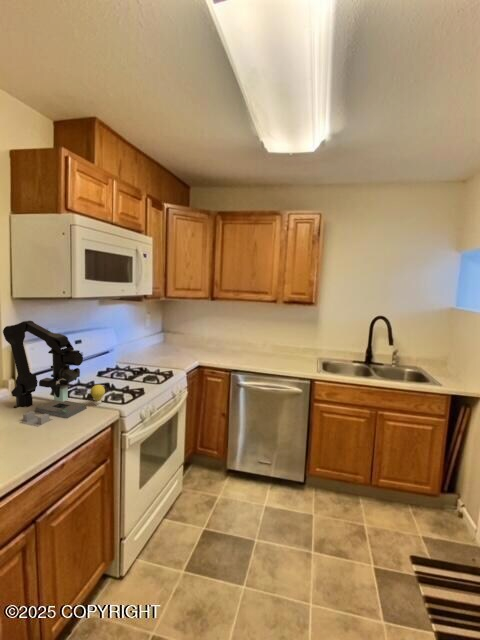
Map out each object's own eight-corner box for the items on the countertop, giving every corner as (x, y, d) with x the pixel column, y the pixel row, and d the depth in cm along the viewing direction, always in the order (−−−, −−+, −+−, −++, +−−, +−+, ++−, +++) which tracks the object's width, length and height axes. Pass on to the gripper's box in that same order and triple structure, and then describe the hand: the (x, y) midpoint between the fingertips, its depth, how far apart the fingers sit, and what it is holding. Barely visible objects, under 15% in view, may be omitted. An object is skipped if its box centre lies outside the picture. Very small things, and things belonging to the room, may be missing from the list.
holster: (19, 424, 150) (18, 416, 150) (35, 417, 158) (34, 409, 157) (37, 428, 148) (37, 419, 147) (53, 421, 155) (52, 412, 155)
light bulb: (100, 407, 172) (99, 387, 170) (87, 406, 173) (87, 386, 172) (107, 402, 178) (107, 383, 177) (96, 401, 179) (95, 382, 178)
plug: (54, 400, 163) (53, 385, 162) (59, 398, 166) (58, 383, 165) (62, 401, 162) (62, 386, 161) (67, 399, 165) (67, 385, 164)
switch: (35, 413, 162) (35, 407, 161) (56, 404, 173) (55, 398, 173) (67, 420, 157) (67, 413, 156) (86, 410, 168) (86, 403, 167)
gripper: (58, 370, 150) (59, 405, 153) (88, 360, 168) (89, 392, 170) (37, 367, 154) (38, 402, 156) (69, 358, 171) (70, 389, 174)
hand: (60, 396), depth 164 cm, fingers closed on plug, 3 cm apart
